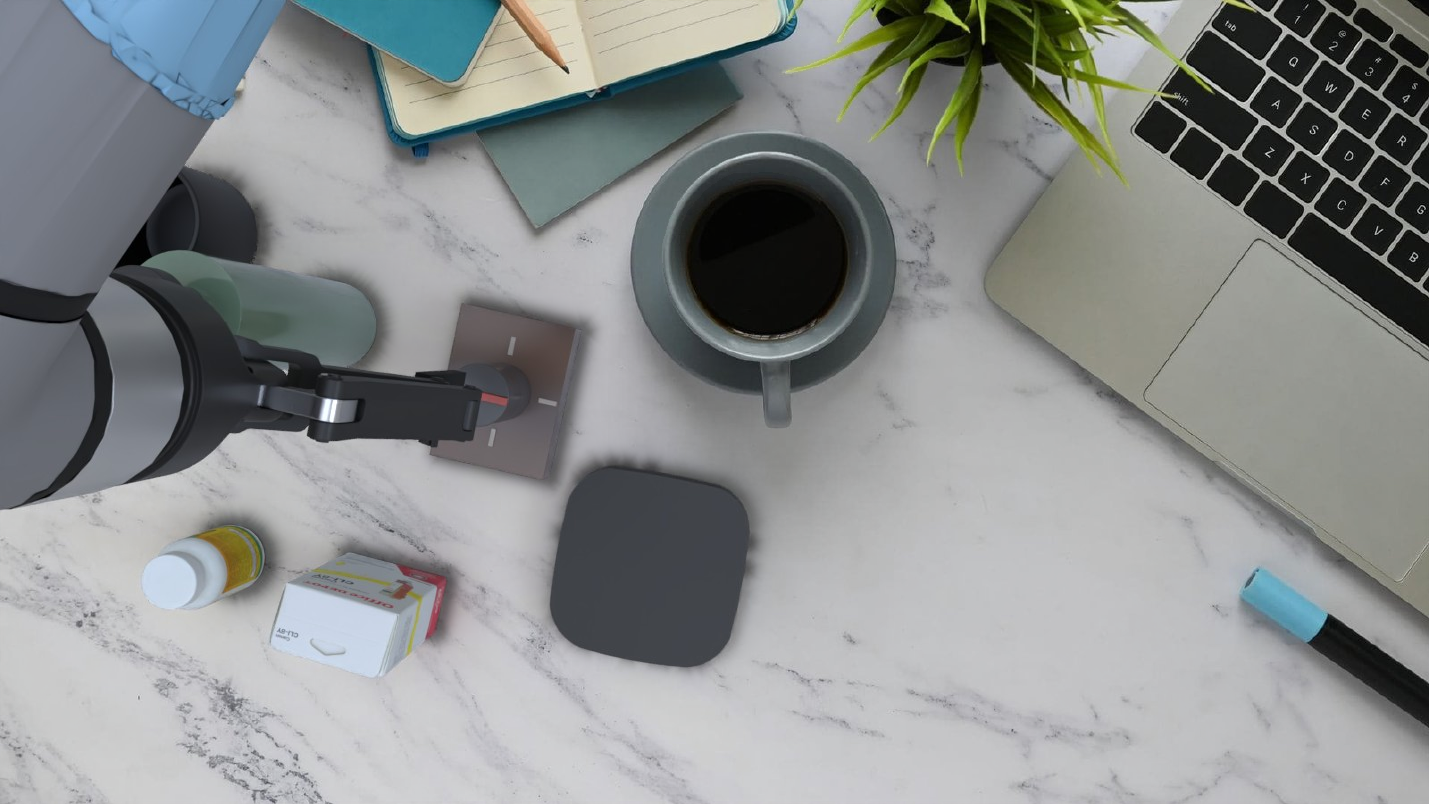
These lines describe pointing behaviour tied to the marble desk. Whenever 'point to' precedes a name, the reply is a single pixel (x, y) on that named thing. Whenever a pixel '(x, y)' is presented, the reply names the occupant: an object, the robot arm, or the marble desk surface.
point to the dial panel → (548, 370)
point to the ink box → (357, 614)
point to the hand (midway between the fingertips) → (335, 369)
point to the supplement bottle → (203, 568)
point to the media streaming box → (649, 566)
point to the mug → (197, 221)
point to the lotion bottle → (279, 305)
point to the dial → (498, 391)
